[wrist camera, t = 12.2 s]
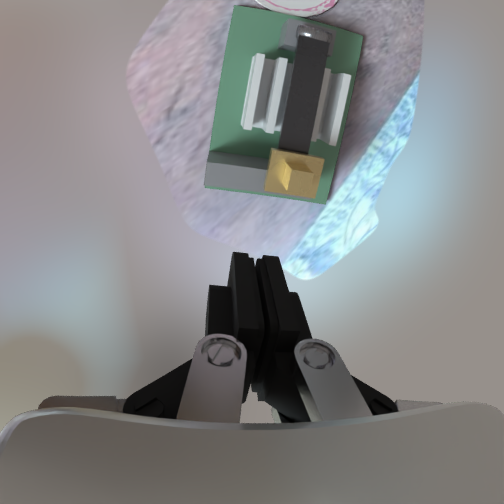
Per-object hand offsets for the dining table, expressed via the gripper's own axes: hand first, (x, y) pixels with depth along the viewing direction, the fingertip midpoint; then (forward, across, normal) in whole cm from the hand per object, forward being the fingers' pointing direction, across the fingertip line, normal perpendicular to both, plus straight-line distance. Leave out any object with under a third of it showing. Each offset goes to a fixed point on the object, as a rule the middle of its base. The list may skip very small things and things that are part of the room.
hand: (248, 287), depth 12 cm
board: (+27, -5, -6) cm, 28 cm away
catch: (+19, -6, 0) cm, 20 cm away
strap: (+22, -6, -7) cm, 24 cm away
